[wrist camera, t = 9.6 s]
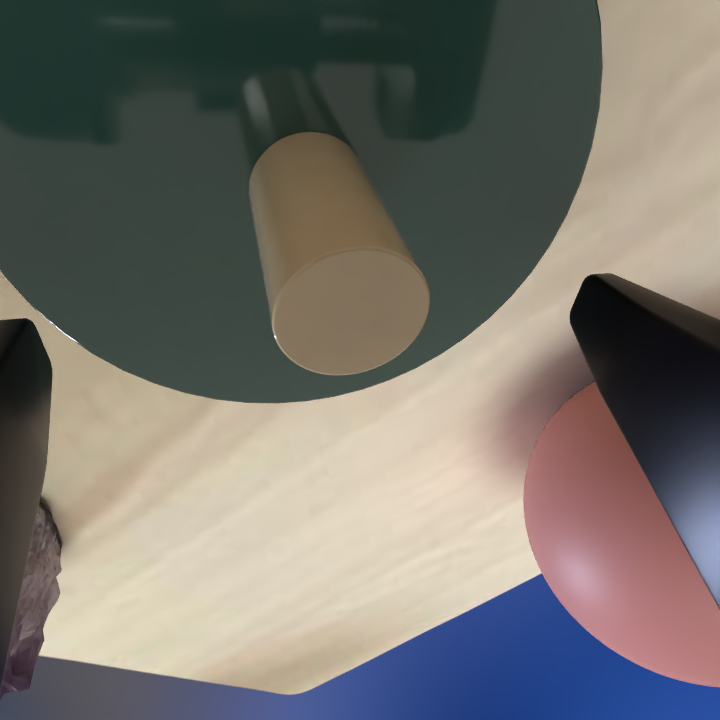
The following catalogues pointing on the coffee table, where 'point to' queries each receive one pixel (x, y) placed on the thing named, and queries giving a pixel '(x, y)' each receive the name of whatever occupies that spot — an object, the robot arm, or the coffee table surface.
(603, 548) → the balloon
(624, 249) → the coffee table surface
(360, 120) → the lid
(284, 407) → the coffee table surface
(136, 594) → the coffee table surface
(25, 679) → the geode
